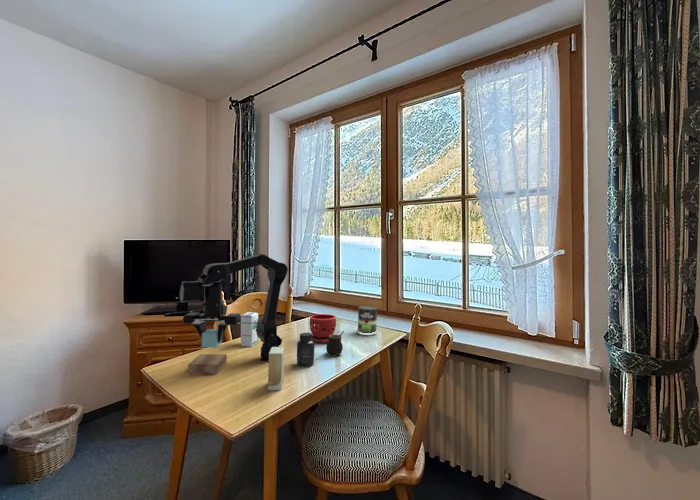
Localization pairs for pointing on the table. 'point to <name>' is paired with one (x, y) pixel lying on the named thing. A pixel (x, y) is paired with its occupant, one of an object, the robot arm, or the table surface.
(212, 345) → the teal cube
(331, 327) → the plant pot
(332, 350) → the mate gourd
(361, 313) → the coffee can
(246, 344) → the syrup box
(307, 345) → the supplement bottle
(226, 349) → the table surface
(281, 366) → the skincare box
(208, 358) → the walnut block
